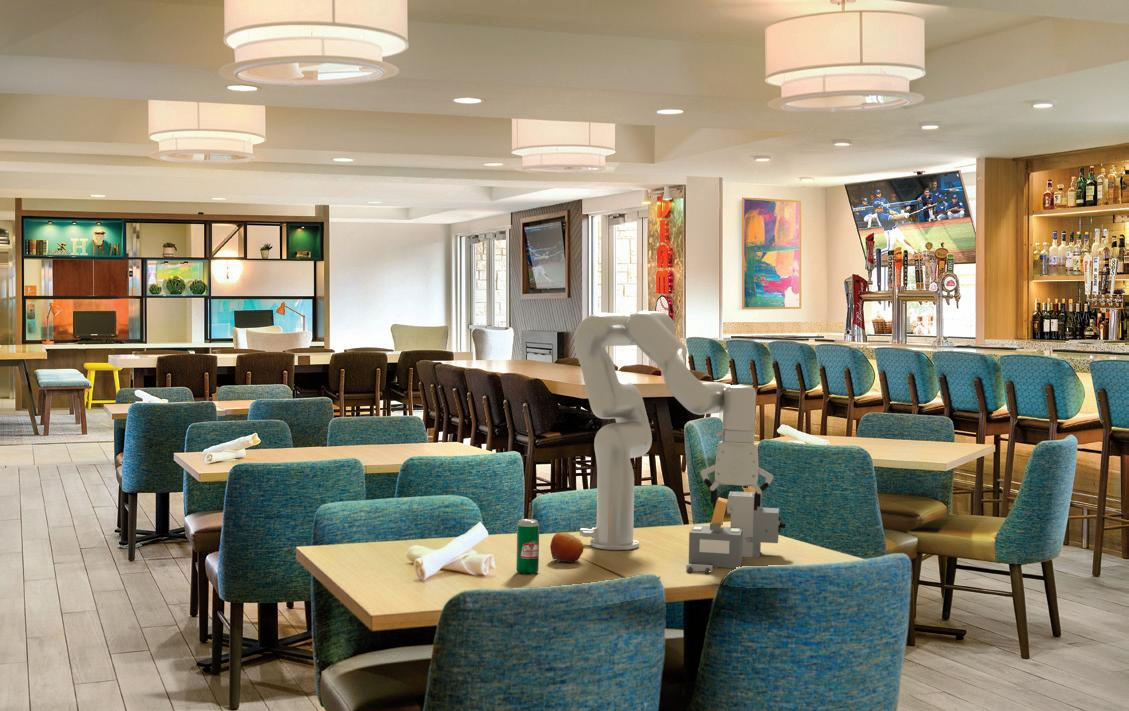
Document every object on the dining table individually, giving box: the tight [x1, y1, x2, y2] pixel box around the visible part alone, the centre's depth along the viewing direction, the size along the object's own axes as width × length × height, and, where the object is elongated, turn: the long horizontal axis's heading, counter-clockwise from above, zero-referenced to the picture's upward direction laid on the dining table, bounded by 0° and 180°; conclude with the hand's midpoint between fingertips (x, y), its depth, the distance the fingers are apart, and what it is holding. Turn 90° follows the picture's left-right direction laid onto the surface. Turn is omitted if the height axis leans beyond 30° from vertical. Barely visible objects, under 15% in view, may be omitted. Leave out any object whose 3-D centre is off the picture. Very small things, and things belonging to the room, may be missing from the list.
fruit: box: [549, 531, 585, 565], centre depth 281 cm, size 8×8×8 cm
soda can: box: [515, 518, 540, 576], centre depth 268 cm, size 5×5×12 cm
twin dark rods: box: [685, 562, 714, 574], centre depth 274 cm, size 6×8×1 cm
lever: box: [710, 496, 728, 527], centre depth 281 cm, size 2×6×7 cm, turn 168°
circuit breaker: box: [726, 491, 787, 558], centre depth 293 cm, size 8×14×15 cm, turn 78°
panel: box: [688, 521, 743, 569], centre depth 282 cm, size 12×10×10 cm
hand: (735, 508), depth 281 cm, fingers open, 9 cm apart
